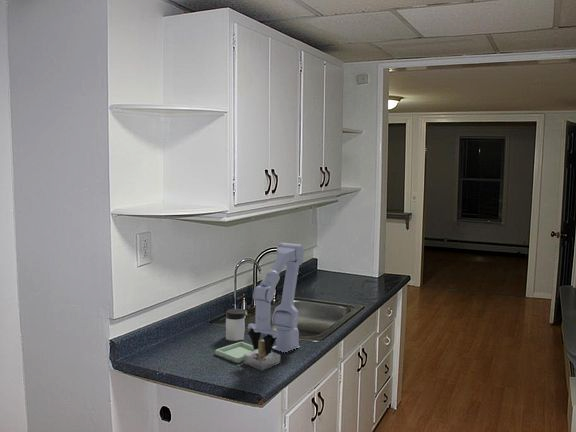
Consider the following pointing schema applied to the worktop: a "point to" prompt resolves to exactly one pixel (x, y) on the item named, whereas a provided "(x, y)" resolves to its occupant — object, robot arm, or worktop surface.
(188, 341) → the worktop surface
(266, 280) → the robot arm
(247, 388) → the worktop surface
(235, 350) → the tray
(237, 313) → the jar
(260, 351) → the pin
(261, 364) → the socket block
